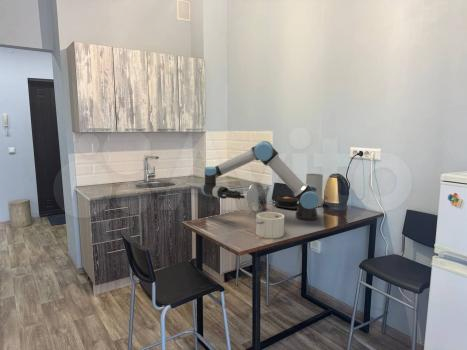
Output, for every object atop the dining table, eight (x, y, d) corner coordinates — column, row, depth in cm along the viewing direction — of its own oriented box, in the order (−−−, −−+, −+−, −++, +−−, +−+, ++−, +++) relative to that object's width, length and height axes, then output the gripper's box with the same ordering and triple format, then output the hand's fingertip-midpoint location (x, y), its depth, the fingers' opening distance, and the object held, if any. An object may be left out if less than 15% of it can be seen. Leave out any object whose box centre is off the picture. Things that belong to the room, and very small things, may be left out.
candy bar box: (261, 208, 257) (261, 187, 254) (266, 209, 253) (267, 188, 251) (252, 211, 248) (252, 189, 246) (257, 212, 245) (257, 190, 243)
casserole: (307, 208, 258) (308, 198, 257) (290, 212, 247) (290, 201, 246) (284, 202, 278) (285, 192, 277) (267, 205, 268) (268, 195, 266)
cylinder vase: (322, 204, 270) (323, 174, 267) (320, 208, 259) (321, 176, 255) (306, 203, 275) (307, 173, 271) (303, 206, 263) (305, 175, 260)
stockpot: (245, 234, 195) (245, 216, 194) (268, 226, 213) (268, 209, 211) (269, 241, 184) (270, 222, 183) (292, 231, 202) (292, 214, 200)
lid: (250, 215, 195) (248, 215, 196) (267, 209, 208) (265, 209, 209) (246, 185, 195) (244, 185, 196) (263, 181, 208) (261, 181, 209)
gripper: (227, 196, 225) (255, 201, 210) (213, 199, 216) (242, 205, 200) (227, 185, 224) (255, 190, 209) (213, 187, 215) (242, 193, 199)
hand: (249, 197), depth 205 cm, fingers closed
